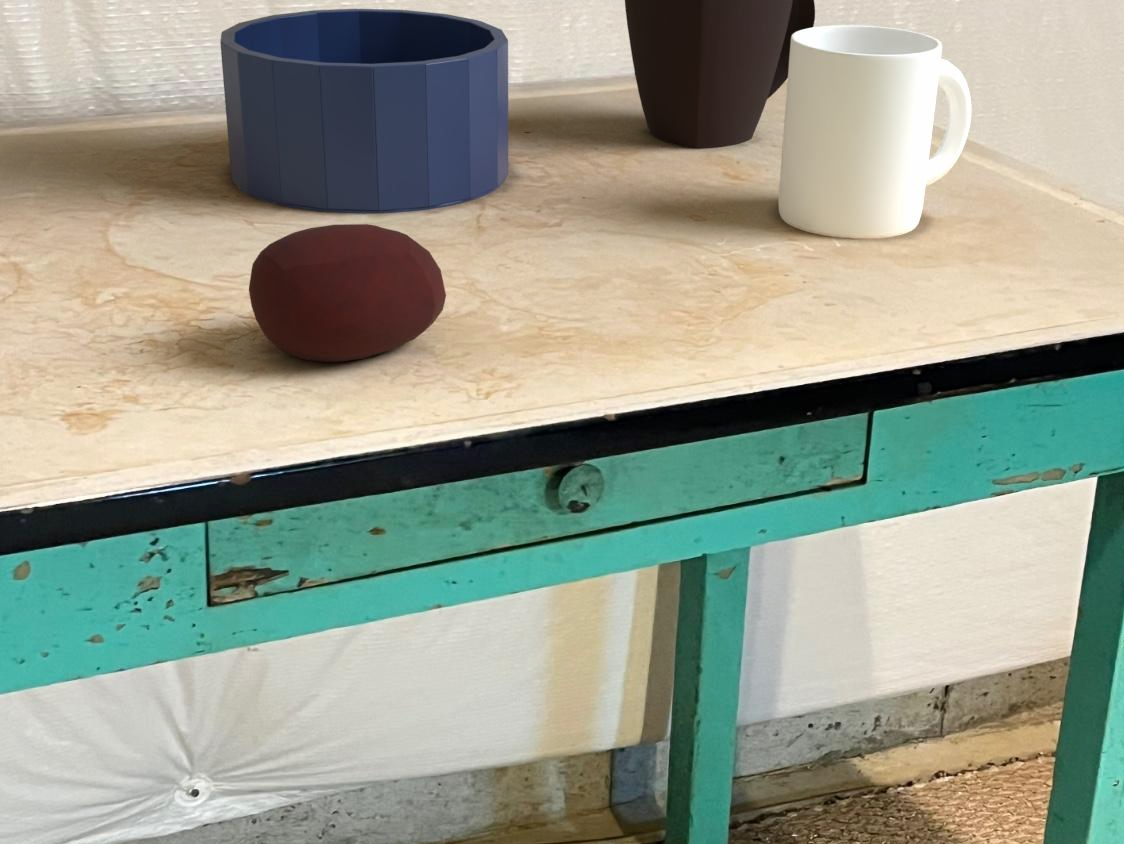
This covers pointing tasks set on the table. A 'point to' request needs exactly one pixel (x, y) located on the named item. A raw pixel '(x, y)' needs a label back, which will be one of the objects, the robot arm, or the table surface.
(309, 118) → the pot
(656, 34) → the mug
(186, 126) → the table surface
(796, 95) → the mug
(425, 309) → the potato
